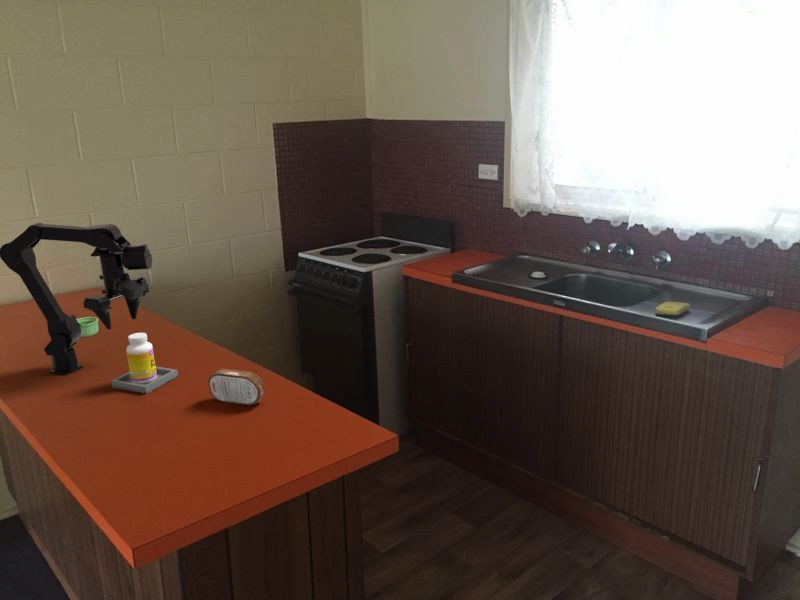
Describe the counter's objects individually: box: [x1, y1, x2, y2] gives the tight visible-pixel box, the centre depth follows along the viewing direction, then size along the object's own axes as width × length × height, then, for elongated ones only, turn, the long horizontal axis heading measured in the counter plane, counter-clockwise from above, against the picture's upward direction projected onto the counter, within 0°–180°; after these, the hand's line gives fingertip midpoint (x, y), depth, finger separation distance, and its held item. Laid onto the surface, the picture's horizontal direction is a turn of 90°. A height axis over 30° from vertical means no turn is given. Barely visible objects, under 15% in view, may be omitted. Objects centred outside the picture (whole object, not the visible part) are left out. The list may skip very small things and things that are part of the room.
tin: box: [207, 368, 266, 406], centre depth 169 cm, size 15×3×8 cm, turn 71°
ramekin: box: [76, 316, 99, 338], centre depth 226 cm, size 9×9×4 cm
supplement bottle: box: [125, 332, 157, 384], centre depth 183 cm, size 7×7×13 cm
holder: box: [110, 366, 179, 395], centre depth 184 cm, size 12×12×2 cm
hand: (121, 324), depth 192 cm, fingers open, 9 cm apart
